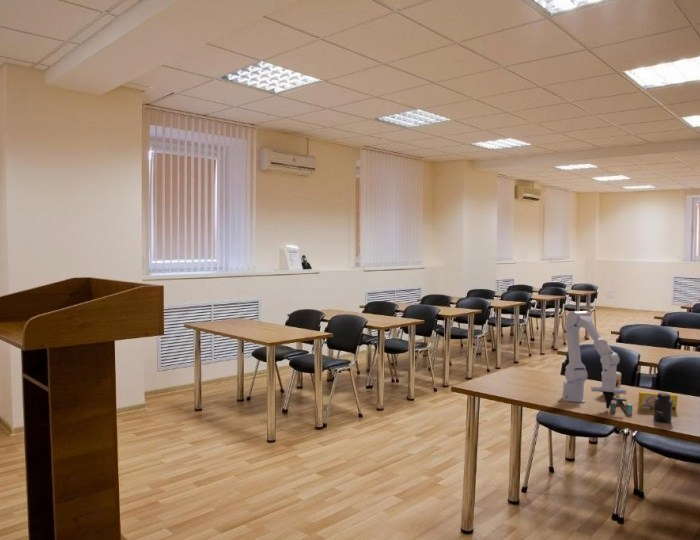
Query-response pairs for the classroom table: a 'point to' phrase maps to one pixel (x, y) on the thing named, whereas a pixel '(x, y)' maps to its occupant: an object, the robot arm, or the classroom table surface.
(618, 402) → the tongs base
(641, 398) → the candy box
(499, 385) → the classroom table surface
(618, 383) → the coffee cup
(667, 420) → the supplement bottle
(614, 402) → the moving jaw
